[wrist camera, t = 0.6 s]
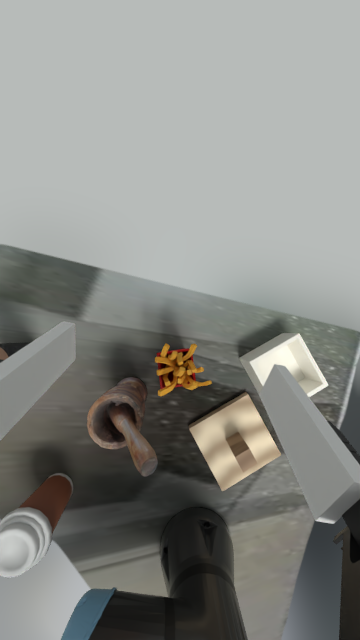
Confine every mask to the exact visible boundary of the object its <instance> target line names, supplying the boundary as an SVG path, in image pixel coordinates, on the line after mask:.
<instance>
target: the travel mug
mask: <svg viewBox="0 0 360 640" xmlns="http://www.w3.org/2000/svg"><path fill="white" fill-rule="evenodd" d="M28 344H29V343H6V344H0V359H1V360H6V359H7V358H9V357H10V356H12V355H13V354H15V353H16V352H18V351H19V350H21V349H22V348H24V347H25V346H27V345H28Z"/></svg>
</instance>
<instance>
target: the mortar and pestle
mask: <svg viewBox="0 0 360 640" xmlns="http://www.w3.org/2000/svg"><path fill="white" fill-rule="evenodd" d="M146 398H147V389H146V386H145V385H144V383H143V382H142V381H141V380H140V379H138V378H134V377H129V378H124V379H122V380H121V381H120V382H119V383H117V385H116V386H115V387H113V388H111V389H110V390H108V391H107V392H106V393H104V394H103V395H102V396H101V397H100V398H99V399H98V400H97V401H96V402H95V403H94V404H93V405H92V406H91V408H90V410H89V413H88V416H87V419H88V421H87V427H88V431H89V434H90V436H91V438H92V439H93V440H94V442H95V443H97V444H98V445H99V446H101V447H103V448H107V449H119V448H122V447H125V446H127V445H128V447H129V451H130V453H131V456H132V459H133V462H134V465H135V467H136V468H137V470H138V471H139V472H140V473H141V475H142V476H148V475H150V474H152V473H153V472H154V471H155V469H156V467H157V465H158V460H157V457H156V454H155V451H154V449H153V448H152V447H151V445H150V444H149V443H148V442H147V440H146V439H145V438H144V437H143V436H142V435H141V434H140V430H141V427H142V423H143V419H144V414H145V401H146Z"/></svg>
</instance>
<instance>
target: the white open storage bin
mask: <svg viewBox="0 0 360 640" xmlns="http://www.w3.org/2000/svg"><path fill="white" fill-rule="evenodd" d="M239 359H240V361H241V363H242V365H243V366H244V368H245V370H246V372H247V374H248V375H249V377H250V379H251V381H252V383H253V385H254V386H255V388H256V390H257V392H258V394H260V392H261V390H262V388H263V386H264V384H265V382H266V380H267V378H268V376H269V374H270V372H271V370H272V368H273V366H274V364H277V365H282V366H286V368H287V369H288V370H289V372H290V373H291V374H292V376H293V377H294V378H295V380H296V381H297V382H298V383H299V385H300V386H301V387H302V389H303V390H304V391H305V393H306V394H307V395H308V397H310V396H312V395H313V394H315V393H317V392H318V391H320V390H322V389H323V388H325V387H327V386H328V383H327V382H326V380H325V378H324V376H323V375H322V373H321V371H320V369H319V368H318V366H317V364H316V362H315V360H314V359H313V357H312V355H311V353H310V352H309V350H308V348H307V346H306V345H305V343H304V341H303V339H302V337H301V336H300V334H299V333H282V334H280V335H278V336H276V337H275V338H273V339H271V340H269V341H268V342H266V343H264V344H262V345H261V346H259V347H257V348H255V349H254V350H252V351H250V352H248V353H247V354H245V355H243V356H241V357H240V358H239Z"/></svg>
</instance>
